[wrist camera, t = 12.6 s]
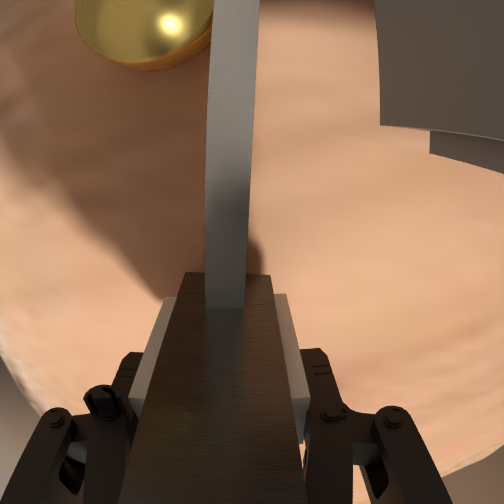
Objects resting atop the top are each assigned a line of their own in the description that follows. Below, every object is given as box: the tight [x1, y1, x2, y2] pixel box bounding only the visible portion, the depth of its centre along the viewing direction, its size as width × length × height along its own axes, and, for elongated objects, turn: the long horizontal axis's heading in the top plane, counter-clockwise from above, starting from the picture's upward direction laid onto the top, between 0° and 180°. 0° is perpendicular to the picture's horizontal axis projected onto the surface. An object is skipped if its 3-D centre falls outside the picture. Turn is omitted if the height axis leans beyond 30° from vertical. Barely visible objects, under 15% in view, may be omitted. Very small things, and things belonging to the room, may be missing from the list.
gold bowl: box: [75, 0, 214, 71], centre depth 10 cm, size 6×6×3 cm
